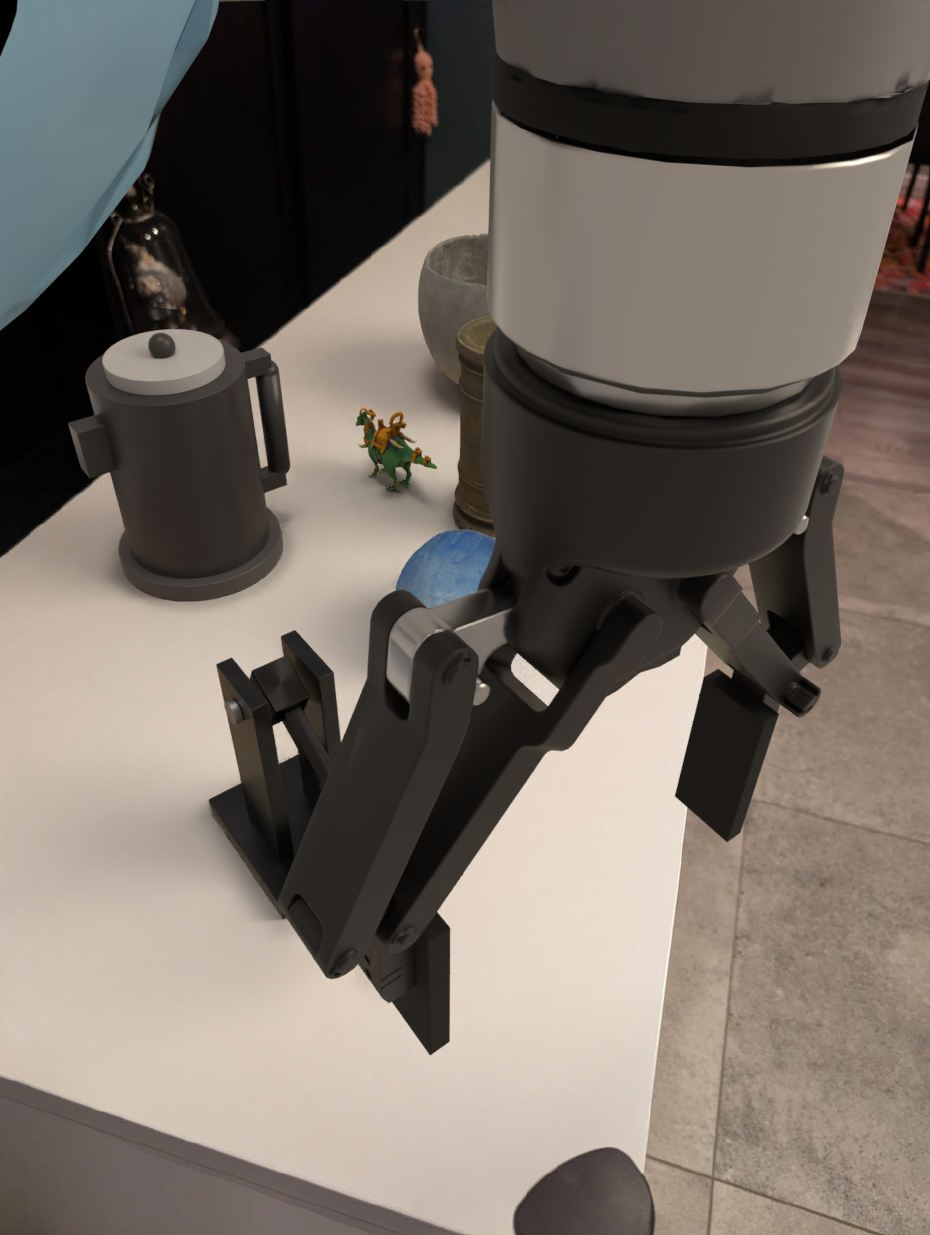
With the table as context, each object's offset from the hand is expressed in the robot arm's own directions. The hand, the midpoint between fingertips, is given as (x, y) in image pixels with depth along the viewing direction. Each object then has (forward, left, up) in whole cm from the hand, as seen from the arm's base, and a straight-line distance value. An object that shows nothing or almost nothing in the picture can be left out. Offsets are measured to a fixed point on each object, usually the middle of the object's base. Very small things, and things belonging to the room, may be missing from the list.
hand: (574, 906), depth 34 cm
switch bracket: (0, +24, -22) cm, 32 cm away
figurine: (+28, +55, -22) cm, 65 cm away
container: (+33, +45, -22) cm, 60 cm away
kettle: (+8, +56, -22) cm, 61 cm away
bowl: (+50, +65, -22) cm, 85 cm away
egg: (+21, +35, -22) cm, 46 cm away
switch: (0, +19, -13) cm, 23 cm away
